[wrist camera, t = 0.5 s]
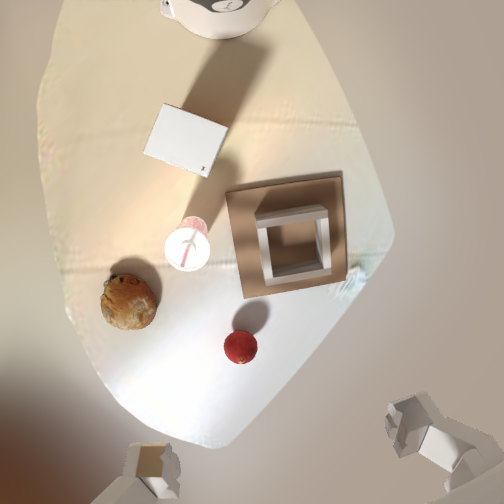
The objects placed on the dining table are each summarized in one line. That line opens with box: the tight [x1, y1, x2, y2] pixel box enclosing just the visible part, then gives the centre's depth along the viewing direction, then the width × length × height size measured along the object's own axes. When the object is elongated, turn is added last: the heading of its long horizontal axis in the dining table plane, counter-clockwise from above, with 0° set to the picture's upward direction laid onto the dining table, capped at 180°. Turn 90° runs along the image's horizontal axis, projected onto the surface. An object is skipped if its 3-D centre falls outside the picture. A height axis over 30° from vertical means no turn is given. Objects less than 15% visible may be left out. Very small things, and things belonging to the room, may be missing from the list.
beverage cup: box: [164, 216, 210, 271], centre depth 44 cm, size 6×6×14 cm
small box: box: [143, 103, 228, 178], centre depth 39 cm, size 8×6×13 cm
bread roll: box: [100, 274, 157, 330], centre depth 52 cm, size 10×10×8 cm
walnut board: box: [225, 176, 346, 299], centre depth 50 cm, size 18×18×5 cm
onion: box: [224, 331, 258, 364], centre depth 54 cm, size 6×6×8 cm
